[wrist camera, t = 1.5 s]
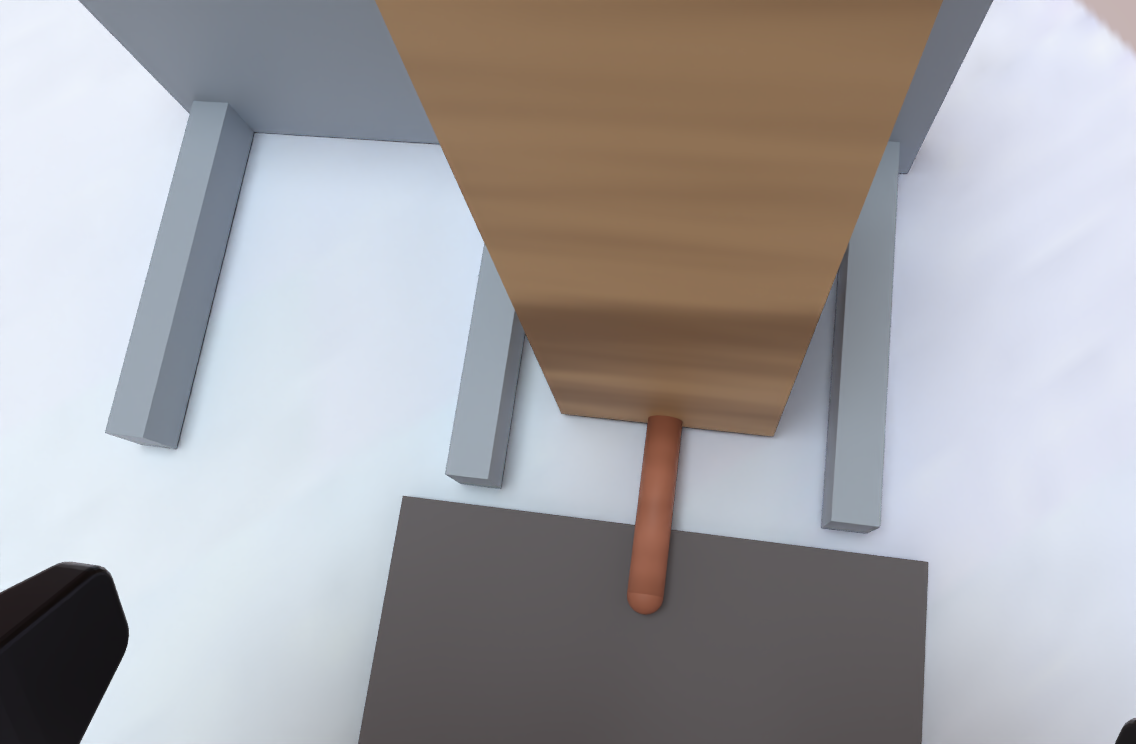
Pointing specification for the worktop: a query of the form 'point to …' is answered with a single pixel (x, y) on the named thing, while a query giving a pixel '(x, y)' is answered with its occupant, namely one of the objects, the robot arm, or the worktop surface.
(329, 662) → the worktop surface
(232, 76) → the lane rack
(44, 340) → the worktop surface
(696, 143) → the oak block
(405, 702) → the mat
